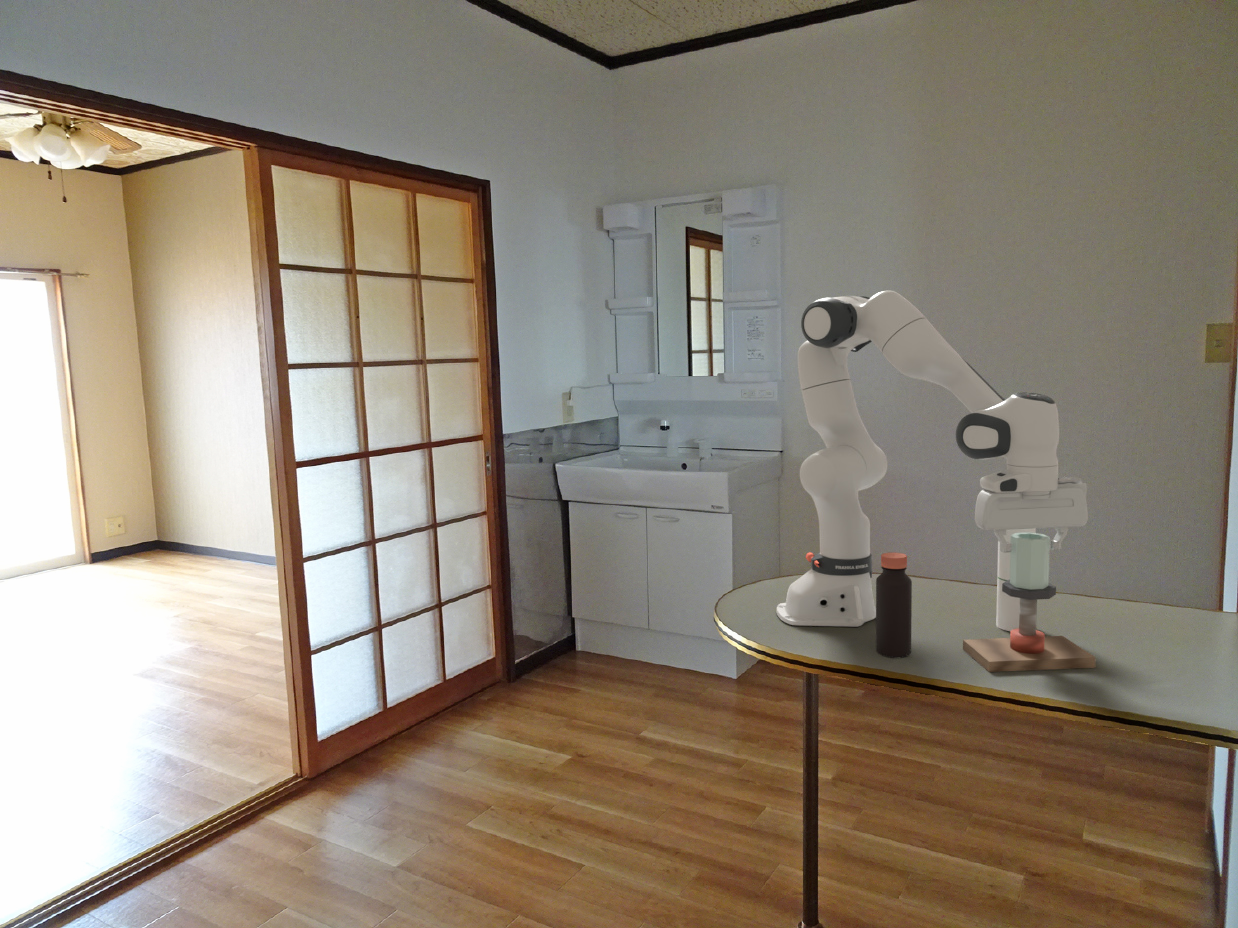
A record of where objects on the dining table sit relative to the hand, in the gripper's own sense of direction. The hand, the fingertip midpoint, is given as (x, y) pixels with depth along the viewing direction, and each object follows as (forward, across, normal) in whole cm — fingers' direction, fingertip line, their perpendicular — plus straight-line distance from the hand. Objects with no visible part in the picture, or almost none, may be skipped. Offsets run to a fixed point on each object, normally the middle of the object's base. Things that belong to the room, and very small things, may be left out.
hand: (1030, 550), depth 164 cm
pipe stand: (+21, 0, 0) cm, 21 cm away
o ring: (+8, 0, 0) cm, 8 cm away
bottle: (+21, +24, -6) cm, 33 cm away
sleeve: (+7, 0, 0) cm, 7 cm away
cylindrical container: (+22, -6, -18) cm, 29 cm away
